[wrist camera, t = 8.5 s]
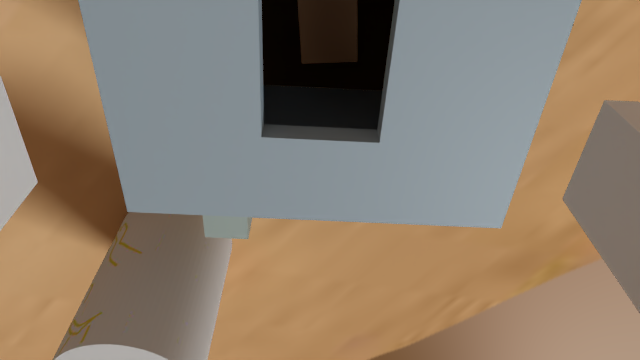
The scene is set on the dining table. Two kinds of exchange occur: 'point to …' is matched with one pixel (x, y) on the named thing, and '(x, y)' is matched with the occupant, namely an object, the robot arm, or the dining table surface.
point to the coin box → (325, 112)
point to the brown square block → (328, 30)
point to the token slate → (226, 226)
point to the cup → (152, 293)
